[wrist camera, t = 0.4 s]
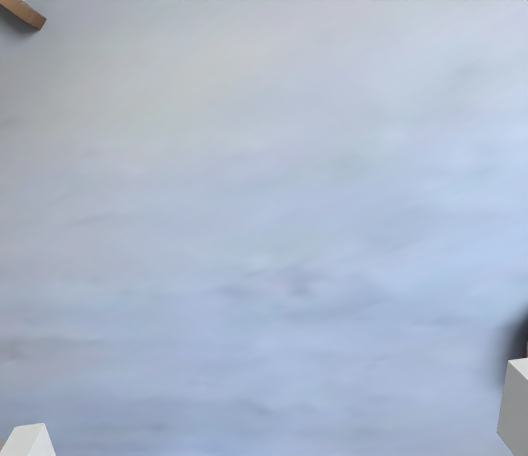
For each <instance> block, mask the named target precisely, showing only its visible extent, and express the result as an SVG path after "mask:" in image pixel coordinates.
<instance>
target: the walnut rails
mask: <svg viewBox="0 0 528 456" xmlns="http://www.w3.org/2000/svg"><path fill="white" fill-rule="evenodd" d="M0 4H1V5H3V6H4V7H6V8H7V9H8V10H10V11H11V12H13V13H14V14H15V15H17V16H18V17H19V18H21V19H22V20H24V21H25V22H27V23H29V24H31V25H33V26H34V27H36V28H38V29H41V27H42V26H43V24H44V22H45V20H46V18H45V17H43V16H42V15H40V14H39V13H38V12H36V11H35V10H33V9H32V8H31V7H29V6H28V5H27V4H25V3H24V2H22V1H21V0H0Z"/></svg>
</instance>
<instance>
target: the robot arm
mask: <svg viewBox="0 0 528 456" xmlns="http://www.w3.org/2000/svg"><path fill="white" fill-rule="evenodd" d="M497 433H498V435H499V436H500V437H501V439H502V440H503V441H504V443H505V444H506V445H507V446H508V448H509V449H510V450H511V452H512V453H513V454H514V456H528V358H522V359H515V360H508V363H507V369H506V376H505V382H504V389H503V395H502V402H501V408H500V414H499V421H498V427H497ZM0 456H56V455H55V452H54V449H53V446H52V443H51V440H50V438H49V435H48V432H47V429H46V426H45V423H40V424H32V425H25V426H17V427H15V428H14V430H13V431H12V433H11V435H10V436H9V438H8V440H7V441H6V443H5V445H4V447H3V448H2V450H1V452H0Z"/></svg>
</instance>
